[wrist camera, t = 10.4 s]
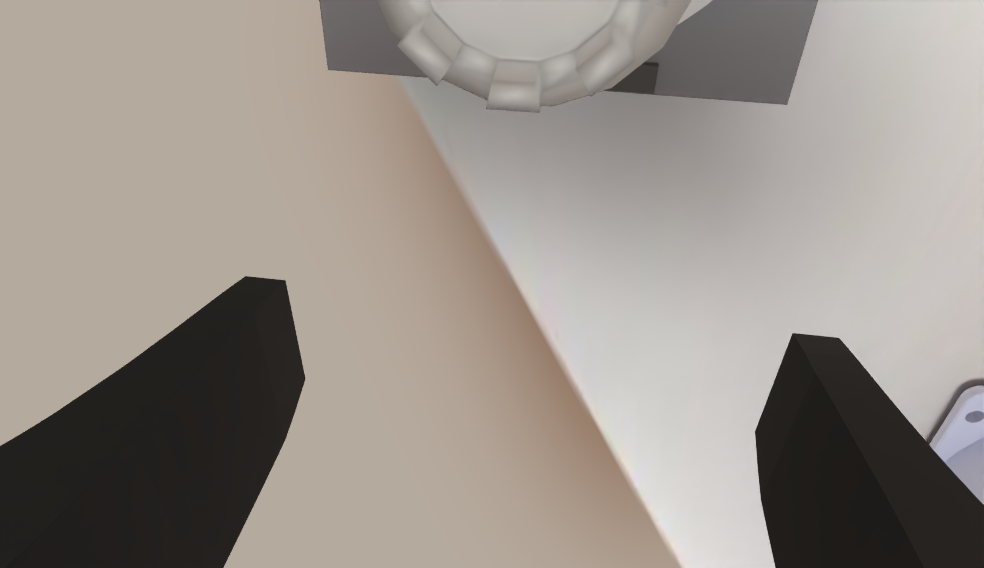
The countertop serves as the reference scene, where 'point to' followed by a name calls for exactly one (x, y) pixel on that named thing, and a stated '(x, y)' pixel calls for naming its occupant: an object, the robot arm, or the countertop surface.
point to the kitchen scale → (671, 71)
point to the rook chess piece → (531, 44)
